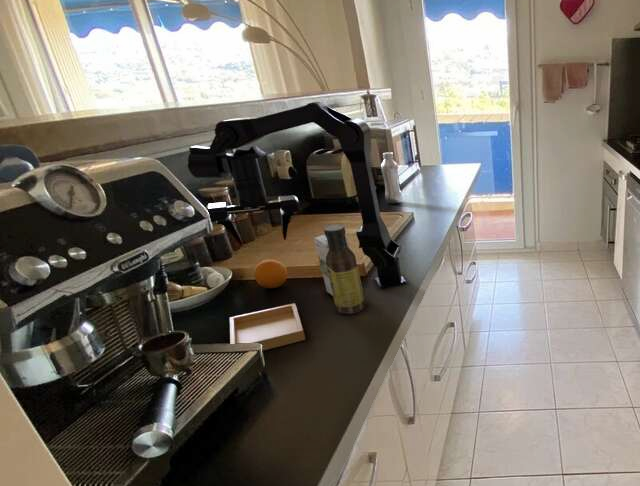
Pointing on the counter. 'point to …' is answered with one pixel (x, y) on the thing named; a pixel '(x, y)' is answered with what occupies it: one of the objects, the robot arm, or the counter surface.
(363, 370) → the counter surface
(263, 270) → the orange
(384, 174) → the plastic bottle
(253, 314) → the tray
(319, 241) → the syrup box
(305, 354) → the counter surface
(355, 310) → the sauce bottle
